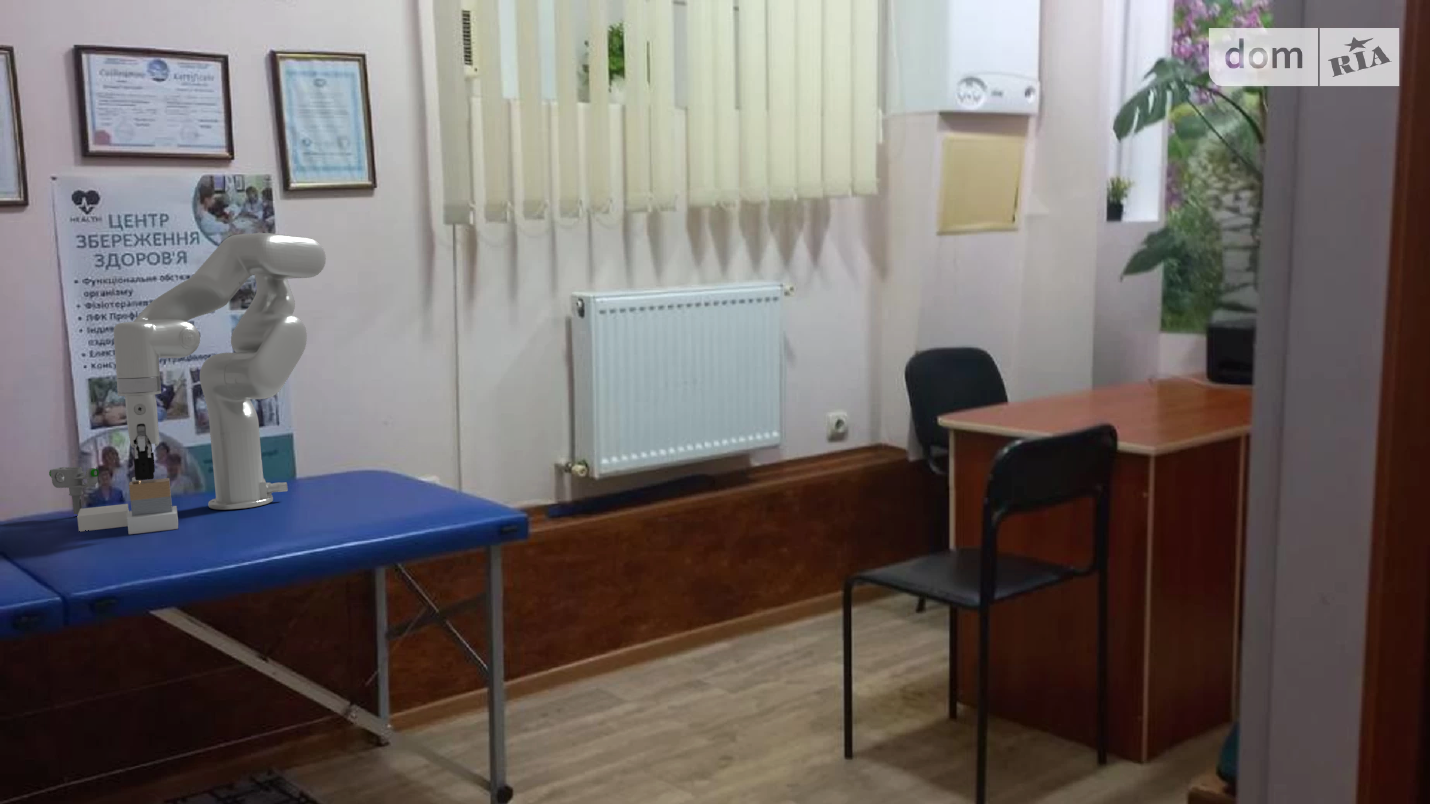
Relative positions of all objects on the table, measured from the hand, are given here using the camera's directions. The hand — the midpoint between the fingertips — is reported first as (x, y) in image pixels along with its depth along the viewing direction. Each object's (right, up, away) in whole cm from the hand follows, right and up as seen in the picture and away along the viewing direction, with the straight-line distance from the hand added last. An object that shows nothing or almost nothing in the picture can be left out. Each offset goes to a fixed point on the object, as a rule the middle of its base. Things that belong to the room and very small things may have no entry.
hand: (145, 476), depth 245 cm
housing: (+1, -7, +2) cm, 7 cm away
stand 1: (-11, -10, +7) cm, 16 cm away
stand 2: (+1, -10, +2) cm, 10 cm away
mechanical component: (-21, -9, +17) cm, 29 cm away
